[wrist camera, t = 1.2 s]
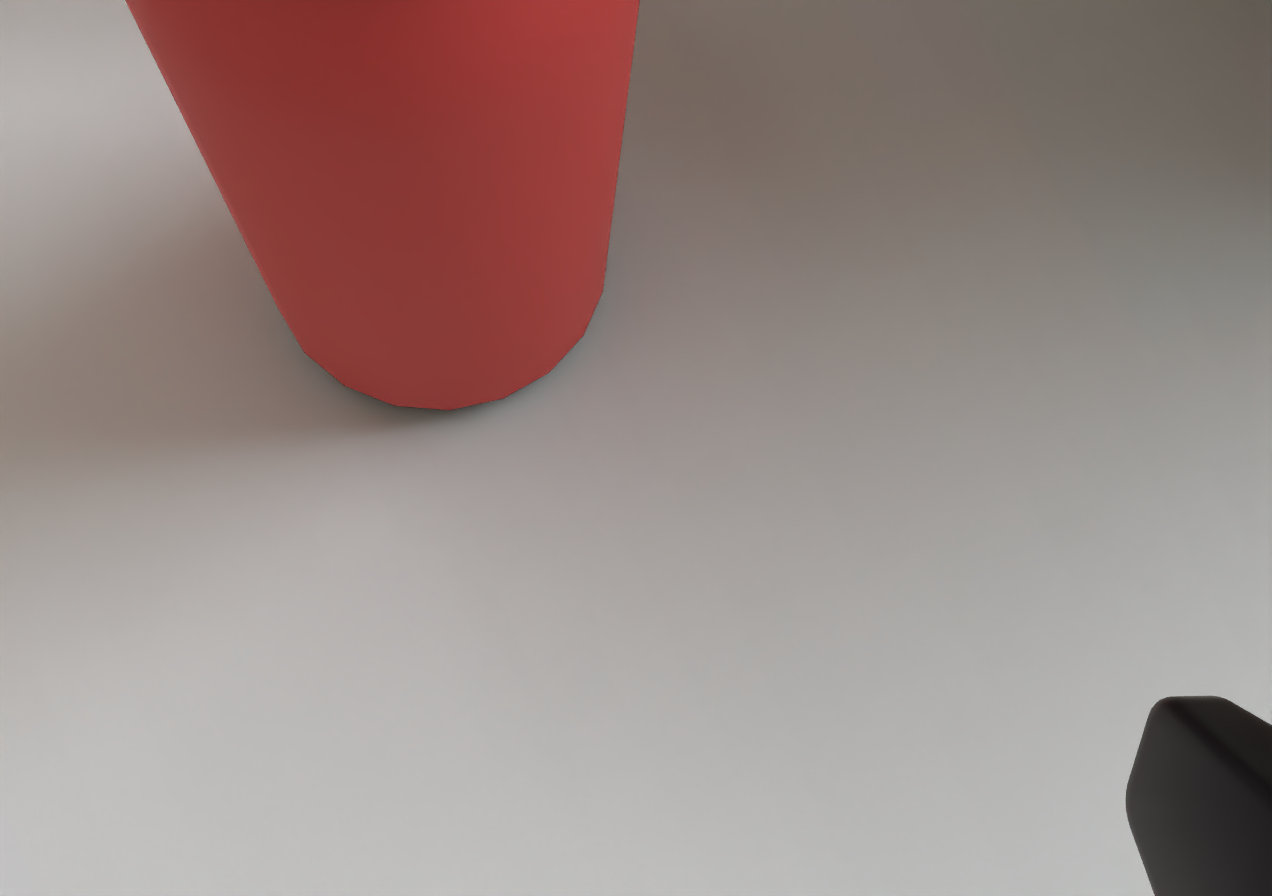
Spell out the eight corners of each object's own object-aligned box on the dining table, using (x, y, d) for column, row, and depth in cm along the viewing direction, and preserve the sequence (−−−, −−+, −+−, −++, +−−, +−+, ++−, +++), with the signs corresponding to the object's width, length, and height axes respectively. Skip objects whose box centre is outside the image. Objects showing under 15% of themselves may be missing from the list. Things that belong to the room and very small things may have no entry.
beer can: (635, 168, 25) (720, -390, 13) (563, 455, 23) (592, 83, 11) (332, 97, 25) (159, -525, 13) (232, 378, 23) (-75, -75, 11)
